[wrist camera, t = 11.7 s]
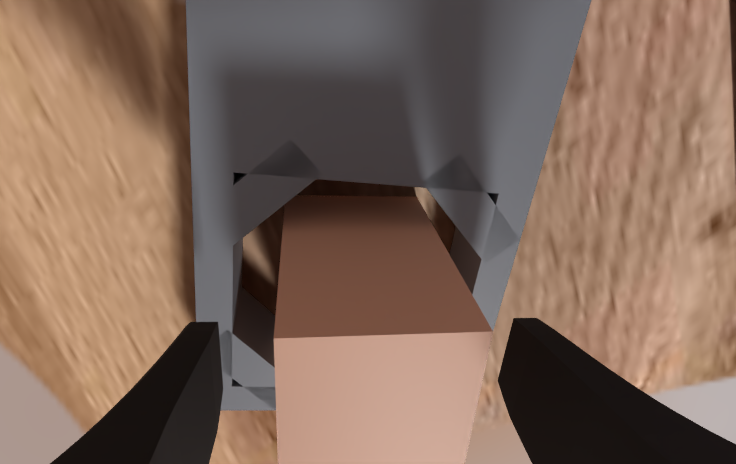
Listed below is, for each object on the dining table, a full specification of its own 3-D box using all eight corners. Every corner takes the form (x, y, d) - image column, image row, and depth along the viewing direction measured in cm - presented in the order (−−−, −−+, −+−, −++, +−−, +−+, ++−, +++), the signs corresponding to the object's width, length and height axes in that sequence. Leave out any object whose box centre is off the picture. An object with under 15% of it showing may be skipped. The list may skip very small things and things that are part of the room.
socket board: (203, -216, 10) (177, -273, 8) (578, -138, 12) (641, -168, 10) (212, 356, 17) (198, 410, 15) (449, 361, 19) (469, 409, 17)
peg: (416, 196, 15) (493, 331, 9) (404, 303, 17) (461, 476, 11) (285, 195, 15) (273, 338, 9) (287, 306, 17) (279, 489, 11)
